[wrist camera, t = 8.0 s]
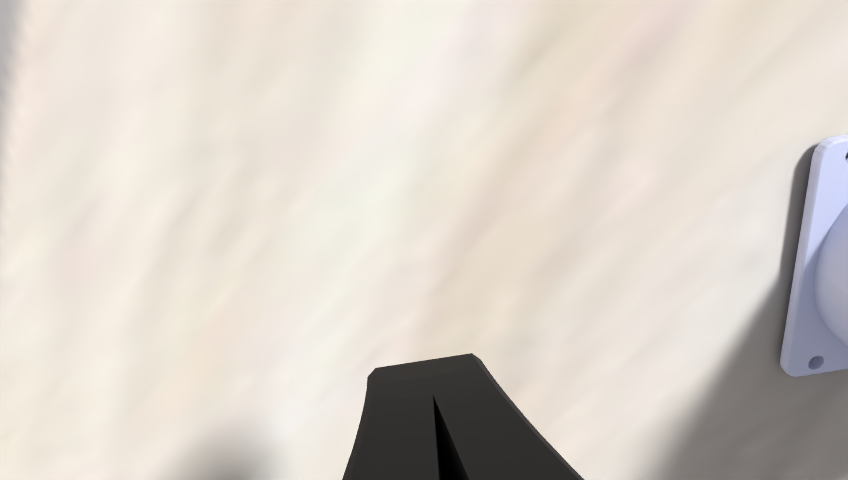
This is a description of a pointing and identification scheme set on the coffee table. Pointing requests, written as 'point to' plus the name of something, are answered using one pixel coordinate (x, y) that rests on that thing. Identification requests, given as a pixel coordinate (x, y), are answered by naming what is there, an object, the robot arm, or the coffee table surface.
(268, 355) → the coffee table surface
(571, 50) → the coffee table surface
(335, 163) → the coffee table surface
